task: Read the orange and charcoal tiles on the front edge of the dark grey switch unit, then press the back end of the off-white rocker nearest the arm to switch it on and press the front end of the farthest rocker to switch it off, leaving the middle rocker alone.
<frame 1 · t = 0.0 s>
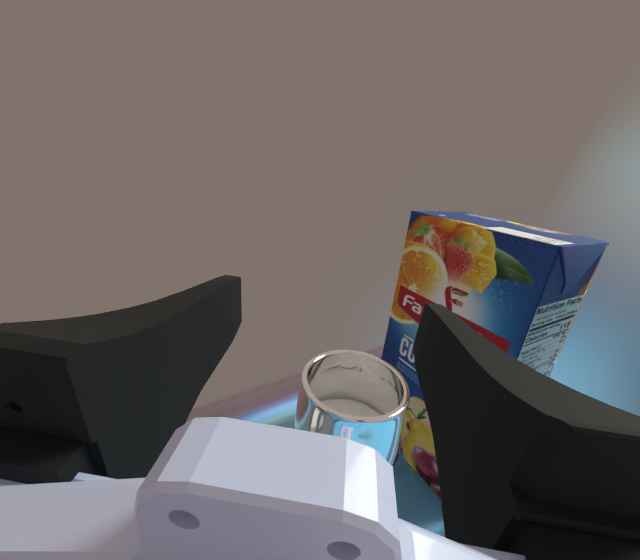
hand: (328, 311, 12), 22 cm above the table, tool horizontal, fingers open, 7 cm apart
juice carton: (430, 448, 33), on the table
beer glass: (327, 537, 24), on the table
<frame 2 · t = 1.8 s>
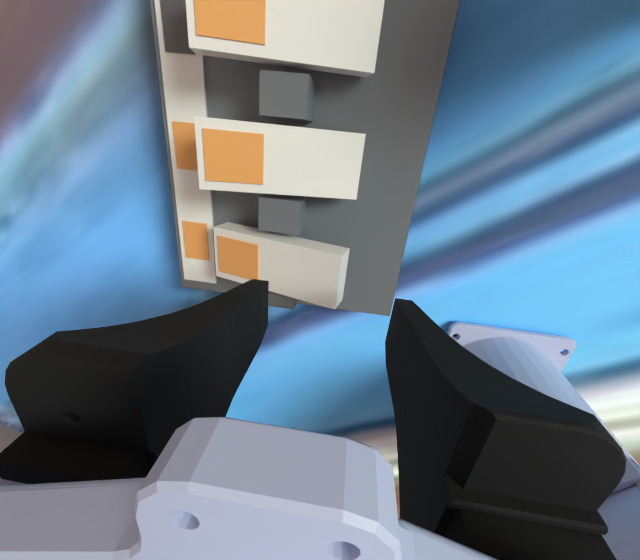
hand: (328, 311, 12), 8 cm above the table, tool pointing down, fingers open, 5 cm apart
rocker middle: (282, 160, 14), point 4 cm above the table, hinge at 15.0°
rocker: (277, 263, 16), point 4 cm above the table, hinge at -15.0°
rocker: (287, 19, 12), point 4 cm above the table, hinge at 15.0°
switch unit: (299, 154, 18), on the table
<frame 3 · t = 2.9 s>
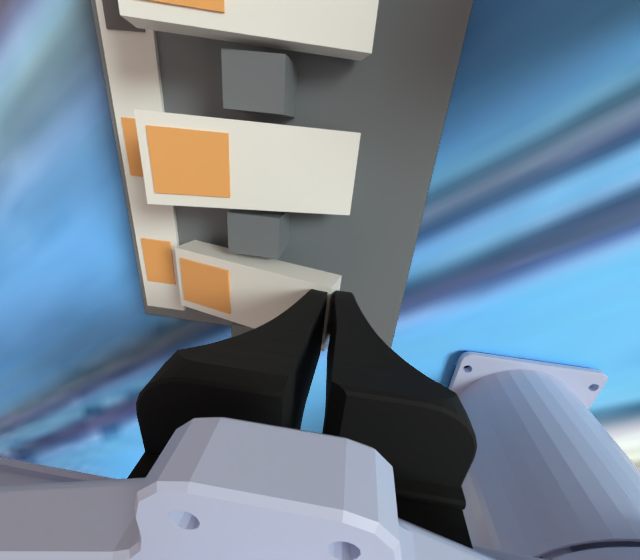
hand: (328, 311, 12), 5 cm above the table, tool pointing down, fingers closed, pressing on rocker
rocker middle: (254, 166, 11), point 4 cm above the table, hinge at 15.0°
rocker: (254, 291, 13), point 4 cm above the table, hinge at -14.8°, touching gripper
switch unit: (282, 158, 15), on the table
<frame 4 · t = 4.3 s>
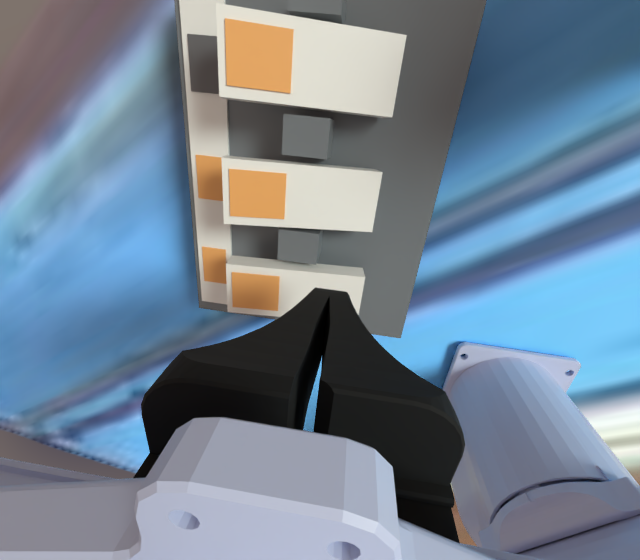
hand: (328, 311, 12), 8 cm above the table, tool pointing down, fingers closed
rocker middle: (302, 195, 14), point 4 cm above the table, hinge at 15.0°
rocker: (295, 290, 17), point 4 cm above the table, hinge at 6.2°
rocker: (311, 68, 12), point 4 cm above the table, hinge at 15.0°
switch unit: (314, 183, 18), on the table
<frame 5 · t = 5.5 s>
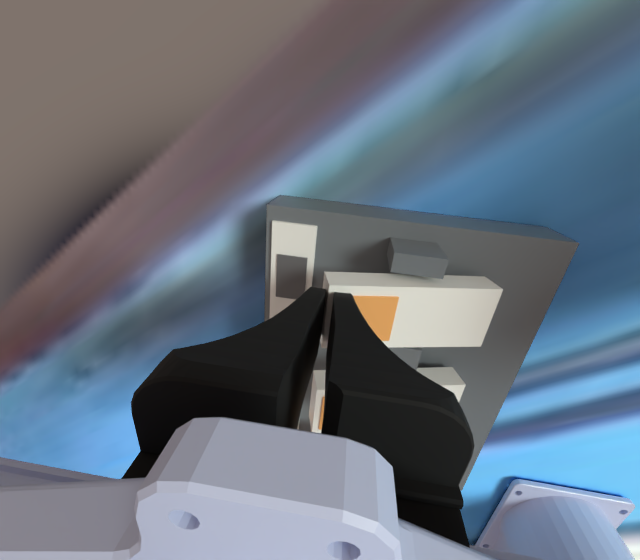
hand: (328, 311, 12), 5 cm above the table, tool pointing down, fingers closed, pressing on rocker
rocker middle: (384, 400, 15), point 4 cm above the table, hinge at 15.0°
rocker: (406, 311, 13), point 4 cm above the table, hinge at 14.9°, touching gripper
switch unit: (379, 345, 19), on the table
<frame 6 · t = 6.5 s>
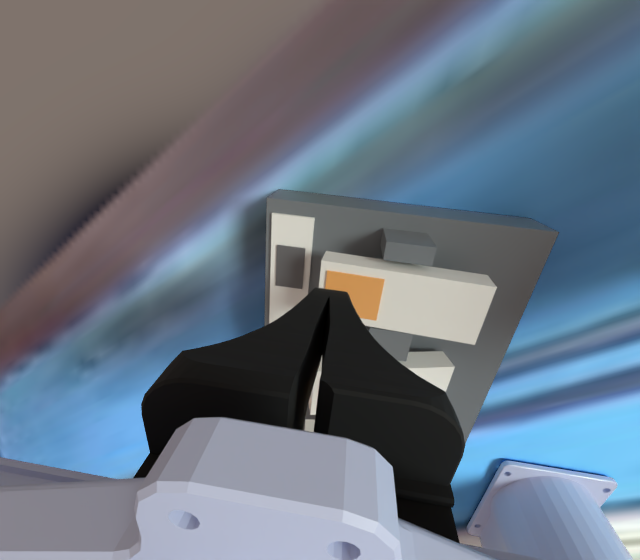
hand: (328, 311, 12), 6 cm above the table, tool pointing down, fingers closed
rocker middle: (379, 382, 16), point 4 cm above the table, hinge at 15.0°
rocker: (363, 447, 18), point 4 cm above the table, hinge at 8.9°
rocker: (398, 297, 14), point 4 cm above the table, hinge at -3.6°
switch unit: (374, 333, 20), on the table
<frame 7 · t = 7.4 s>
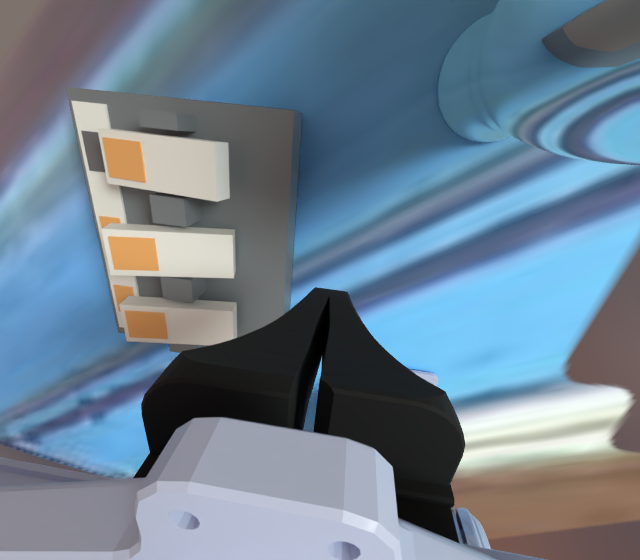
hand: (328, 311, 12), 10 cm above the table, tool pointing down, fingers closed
rocker middle: (174, 251, 19), point 4 cm above the table, hinge at 15.0°
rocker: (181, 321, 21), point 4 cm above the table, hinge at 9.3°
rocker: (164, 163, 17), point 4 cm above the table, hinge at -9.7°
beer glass: (493, 81, 17), on the table
switch unit: (206, 232, 23), on the table
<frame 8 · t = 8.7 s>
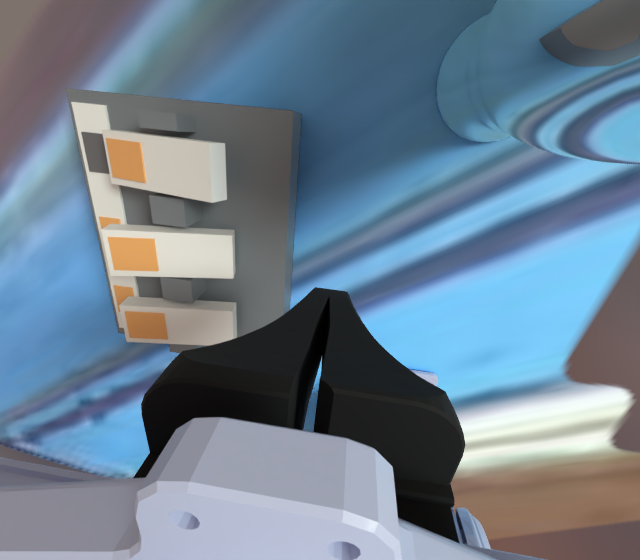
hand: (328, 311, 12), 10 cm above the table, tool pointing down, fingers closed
rocker middle: (174, 252, 19), point 4 cm above the table, hinge at 15.0°
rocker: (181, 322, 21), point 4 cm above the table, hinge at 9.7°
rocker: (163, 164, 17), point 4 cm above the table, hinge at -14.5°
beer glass: (492, 82, 17), on the table
switch unit: (206, 232, 23), on the table
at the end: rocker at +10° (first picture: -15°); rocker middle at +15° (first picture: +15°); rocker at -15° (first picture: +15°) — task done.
